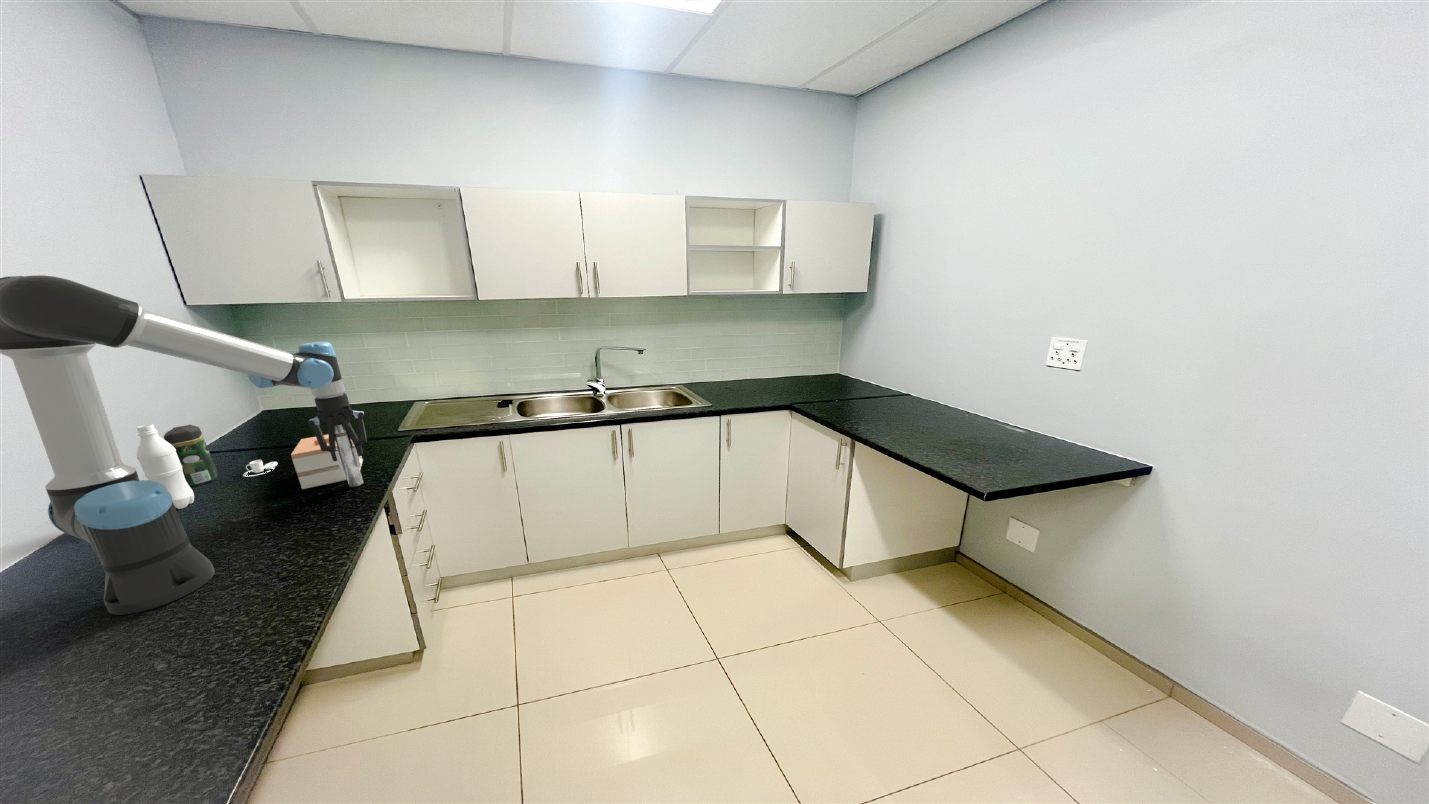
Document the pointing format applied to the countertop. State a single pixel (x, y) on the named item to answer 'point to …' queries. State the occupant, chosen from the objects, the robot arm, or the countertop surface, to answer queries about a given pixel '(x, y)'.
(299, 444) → the tissue box
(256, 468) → the teacup and saucer
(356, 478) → the metal tube
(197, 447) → the coffee jar
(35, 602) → the countertop surface
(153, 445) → the water bottle
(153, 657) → the countertop surface
